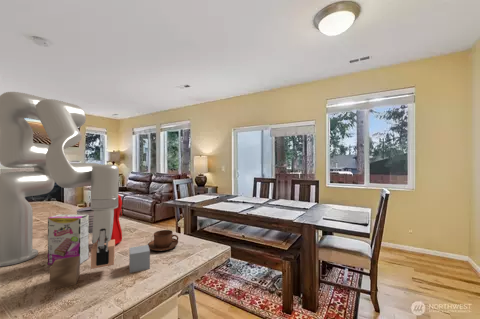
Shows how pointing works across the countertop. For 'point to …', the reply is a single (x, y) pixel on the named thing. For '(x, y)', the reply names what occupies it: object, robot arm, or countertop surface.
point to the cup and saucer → (163, 241)
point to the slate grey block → (139, 258)
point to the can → (91, 214)
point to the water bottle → (117, 223)
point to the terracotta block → (111, 254)
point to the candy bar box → (68, 237)
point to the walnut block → (64, 272)
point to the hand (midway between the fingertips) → (103, 259)
